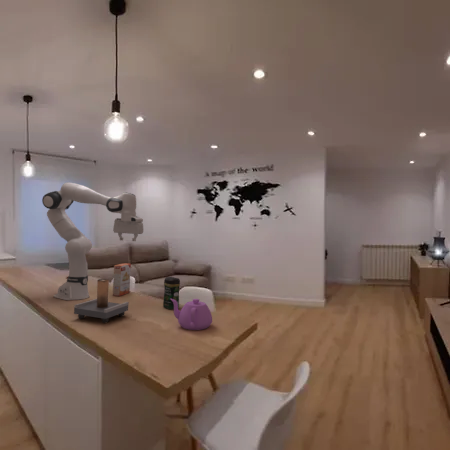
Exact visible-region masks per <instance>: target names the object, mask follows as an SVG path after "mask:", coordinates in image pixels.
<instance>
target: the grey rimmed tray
mask: <svg viewBox="0 0 450 450" xmlns="http://www.w3.org/2000/svg"><path fill="white" fill-rule="evenodd" d="M73 305H74V306H73V307H74V308H73V314H74V315H77V317H78V319H79V320H83V319H85V318H86V317H92V318H99V319H101V322H102V323H103V324H105V323H106V324H107V323H108V322H109V320H110V318H113V317H115V316H117V315H118V317H124V316H125V314H126V312H127V311H129V301H124V302H123V303H117V302H110V301H108V307H104V308H99V307H97V298H94V299H91V300H87V301H84V302H80V303H77V304H73Z"/></svg>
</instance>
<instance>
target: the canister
mask: <svg viewBox="0 0 450 450" xmlns="http://www.w3.org/2000/svg"><path fill="white" fill-rule="evenodd" d="M109 283H110V281H109V278H108V279H107V278H100V279H97V284H96V285H97V286H96V288H97V290H96V299H97V307H99V308H104V307H108V302H109V285H110V284H109Z"/></svg>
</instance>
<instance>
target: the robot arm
mask: <svg viewBox="0 0 450 450" xmlns="http://www.w3.org/2000/svg"><path fill="white" fill-rule="evenodd" d="M41 200H42V201H41V202H42V205H43V207H44V208H46V209H48V210H47V212H46V216H47V219H48V221H49V222H50V224H51V226H52V227H53V228H54V229H55V231H56V232H57V234H58V235H59V236H60V237H61V238H62V239H63V240H65V242H67V243H65V246H64V248H65V252H66V253H67V257H68V276H66V277H65V280H66V281H65V282H64V283H62V285H60V286H59V287H58V288H57V293H56V294H53V298H55V299H56V298H57V299H61V300H64V301H72V300H73V301H74V300H77V301H78V300H84V299H87V298H90V295H89V287H88V281H89V275H88V269H89V268H88V261H87V257H86V254H87V253H89V252H90V250H92V248H93V243H92V241H91V240H90V239H89V238H88V237H87V236H86V235H85V234H84V233H82V231H81V230H80V229H78V227H77V226H76V225H75V223H74V222H73V221H72V220H71V218H70V216H69V215H68V214H67V212H66V210H68V209H69V208H70V207H71V205H72V204H73V203H74V202H75V203H76V202H77V203H81V204H88V205H89V204H93V205H94V204H95V205H101V206H105V207H106V209H107V211H109V213H110V212H111V213H113V214H120V218H119V217H117V218H115V219H114V223H113V227H112V228H113V230H112V232H113V233H114V234H117V235H118V238H119V241H124V237H123V236H122V235H123V234H129V235H130V234H133V236H134V237H133V238H131V239H132V240H131V242H136V241H137V237H138V236H139V235H143V233H144V223H143V221H144V219H143V217H142V218H141V217H139V216H137V212H136V210H137V196H136V194H134V193H131V192H123V193H121V194H119V195H117V196H114V197H110V196H107V195H104V194H103V193H102V194H101V193H99V192H97V191H96V190H94V189H92V188H89V187H88V186H85V185H83V184H78V183H74V182H70V181H69V182H64V183H62V185H61V188H60V190H54V191H50V192H47V193H46V194H44V195H43V196H42V199H41Z"/></svg>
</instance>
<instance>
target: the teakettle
mask: <svg viewBox="0 0 450 450" xmlns="http://www.w3.org/2000/svg"><path fill="white" fill-rule="evenodd" d="M171 300H172V302H173V304H174V309H173V315H174V317H175V319H177V321H178V322H177V323H178V324H179V325H180V327H181V328H183V329H185V330H190V331H191V330H192V331H200V330H205V329H208V328H209V327H210V326H211V325H212V323H213V315H212V312H211V310H210V308H209V306H208V305H207V303H206V302H204V301H200V299H199V298H192V300H191V301H187V302H186V303H184V305H183V306H182V308H181V309H179V308H178V304H177V301H176V300H174V299H171Z"/></svg>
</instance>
